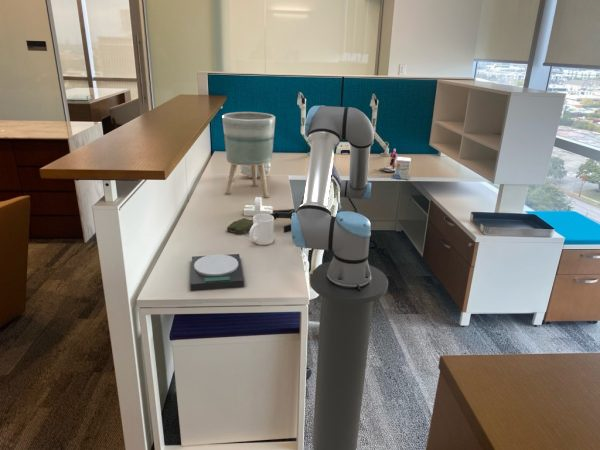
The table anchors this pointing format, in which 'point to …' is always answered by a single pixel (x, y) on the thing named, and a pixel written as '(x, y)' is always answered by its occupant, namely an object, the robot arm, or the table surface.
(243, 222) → the landmine
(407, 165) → the ink box
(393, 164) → the statue
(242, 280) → the scale
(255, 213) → the slotted bracket
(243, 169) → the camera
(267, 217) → the mug
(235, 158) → the planter
